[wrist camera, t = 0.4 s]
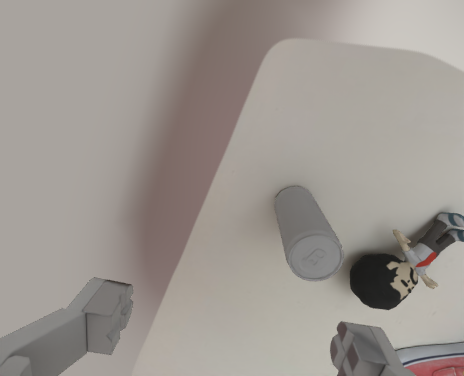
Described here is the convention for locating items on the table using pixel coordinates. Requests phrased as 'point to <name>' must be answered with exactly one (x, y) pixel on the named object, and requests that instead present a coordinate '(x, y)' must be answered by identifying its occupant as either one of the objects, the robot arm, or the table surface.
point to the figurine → (402, 265)
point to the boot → (434, 359)
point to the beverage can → (307, 236)
